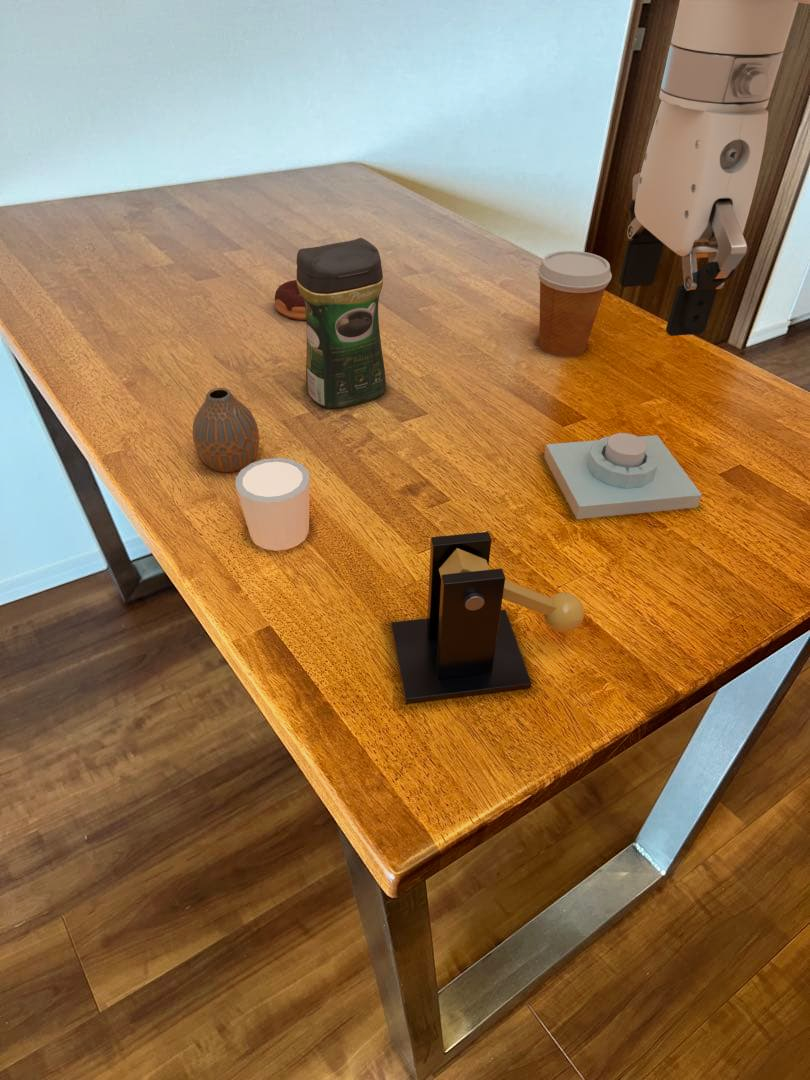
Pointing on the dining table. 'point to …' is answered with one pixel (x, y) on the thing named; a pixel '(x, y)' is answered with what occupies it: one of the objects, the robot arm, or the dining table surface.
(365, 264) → the coffee jar
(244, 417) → the vase
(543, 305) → the disposable coffee cup
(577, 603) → the flush lever
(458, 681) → the lever bracket
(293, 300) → the donut
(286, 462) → the pale pink cup
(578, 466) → the square base plate
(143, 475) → the dining table surface
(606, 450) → the round push button
